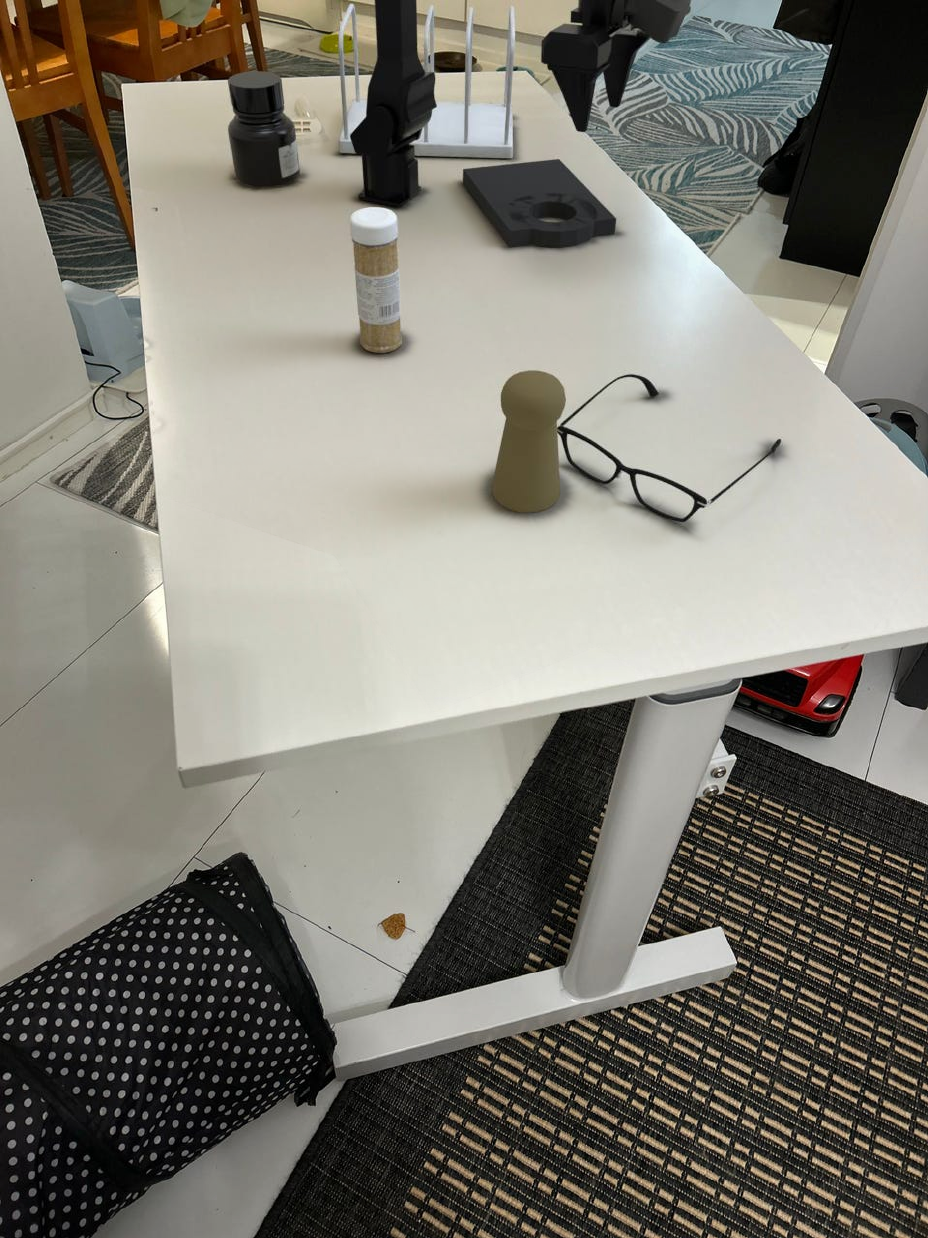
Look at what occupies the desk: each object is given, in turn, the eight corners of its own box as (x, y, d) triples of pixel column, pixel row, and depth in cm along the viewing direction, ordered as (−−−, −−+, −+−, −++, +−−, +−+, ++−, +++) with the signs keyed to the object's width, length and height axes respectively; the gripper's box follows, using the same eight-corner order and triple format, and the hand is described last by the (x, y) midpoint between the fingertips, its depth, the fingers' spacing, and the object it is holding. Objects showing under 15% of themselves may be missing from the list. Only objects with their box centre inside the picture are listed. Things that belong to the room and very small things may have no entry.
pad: (462, 183, 124) (462, 168, 122) (557, 173, 127) (559, 158, 125) (513, 253, 110) (514, 236, 108) (619, 239, 112) (621, 223, 111)
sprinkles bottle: (395, 329, 97) (389, 202, 87) (408, 350, 94) (403, 221, 84) (354, 336, 96) (343, 208, 86) (365, 358, 93) (356, 228, 83)
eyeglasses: (543, 459, 82) (547, 422, 79) (642, 387, 90) (648, 351, 87) (700, 542, 74) (710, 504, 71) (792, 456, 82) (804, 419, 79)
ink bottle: (304, 187, 122) (293, 89, 113) (238, 193, 121) (222, 93, 112) (296, 160, 128) (285, 65, 120) (233, 165, 127) (217, 69, 118)
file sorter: (339, 155, 130) (328, 29, 119) (352, 113, 142) (344, -5, 130) (512, 159, 130) (518, 34, 118) (511, 117, 142) (517, -1, 130)
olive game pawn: (512, 520, 76) (520, 409, 68) (479, 480, 79) (482, 370, 71) (573, 500, 78) (587, 389, 70) (537, 461, 81) (547, 352, 73)
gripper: (651, -29, 81) (634, 155, 92) (718, -66, 92) (695, 102, 104) (540, -37, 85) (537, 141, 97) (617, -71, 97) (605, 91, 108)
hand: (598, 118), depth 101 cm, fingers open, 9 cm apart
